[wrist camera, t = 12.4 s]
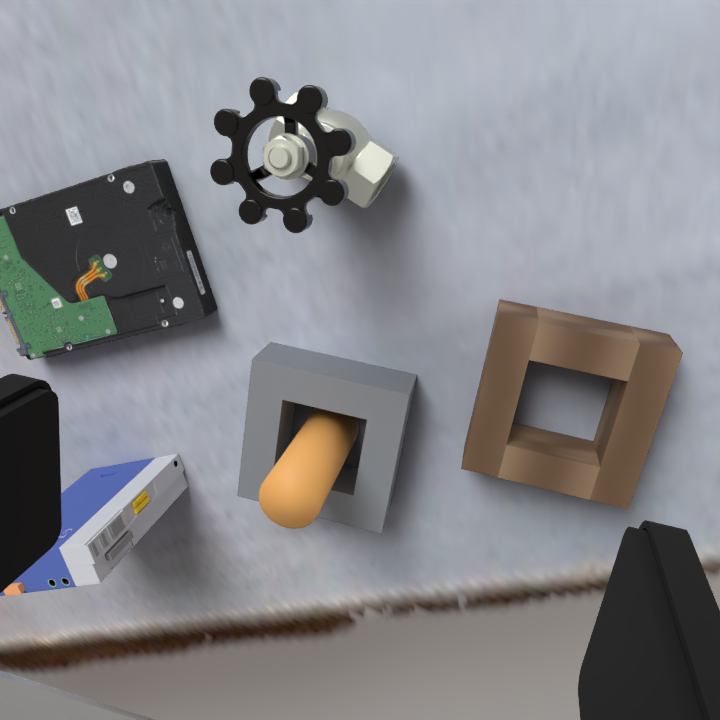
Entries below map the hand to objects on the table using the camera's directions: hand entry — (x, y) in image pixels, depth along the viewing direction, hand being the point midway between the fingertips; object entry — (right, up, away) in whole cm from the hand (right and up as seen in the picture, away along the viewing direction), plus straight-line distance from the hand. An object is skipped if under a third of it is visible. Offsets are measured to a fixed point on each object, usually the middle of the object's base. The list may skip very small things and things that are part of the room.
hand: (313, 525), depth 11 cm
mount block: (+13, +1, +31) cm, 34 cm away
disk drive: (-17, +9, +36) cm, 41 cm away
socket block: (-1, -2, +36) cm, 36 cm away
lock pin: (-1, -2, +36) cm, 36 cm away
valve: (0, +15, +30) cm, 33 cm away
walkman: (-16, -6, +41) cm, 44 cm away
